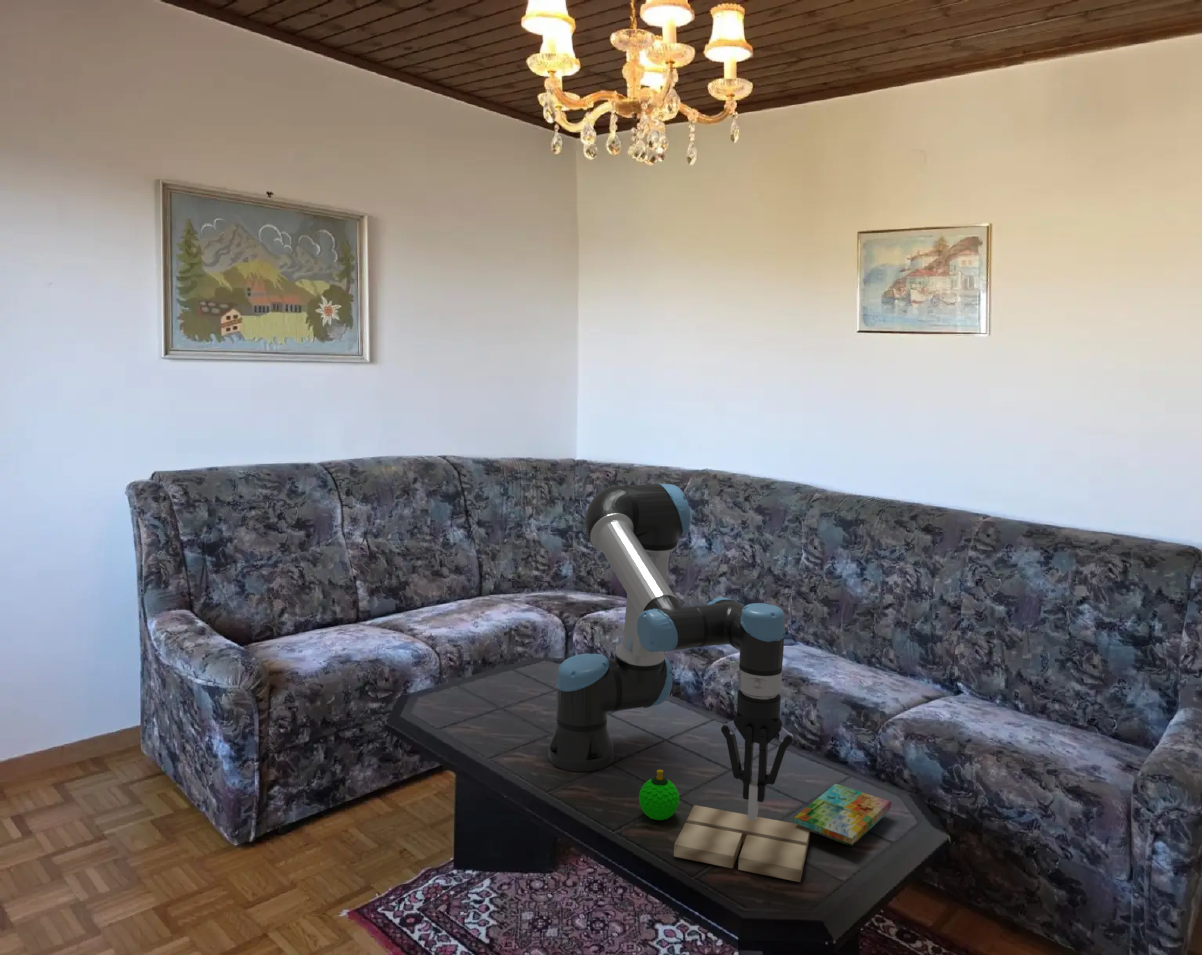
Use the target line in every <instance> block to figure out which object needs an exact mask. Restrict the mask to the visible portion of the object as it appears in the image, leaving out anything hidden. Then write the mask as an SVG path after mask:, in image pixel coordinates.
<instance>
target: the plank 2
mask: <svg viewBox="0 0 1202 955" xmlns="http://www.w3.org/2000/svg"><path fill="white" fill-rule="evenodd" d="M741 847H742V848H741V849H740V853H739V856H738V863H737V864H738V868H737V869H738V870H740V871H742V872H743V871H744V872H748V873H753V874H759V875H763V876H767V877H768V876H769V877H773V878H778V879H782V880H786V881H787V880H788V881H791V882H792V881H793V882H798V883H801V880H802V875H803V872H804V871H803V870H804V865H805V861H806V858H807V853H806V846H804V845H799V844H794V843H789V842H783V841H778V840H773V839H768V838H763V837H758V836H752V835H747V836H746V839H745V842H744V845H743V844H742V846H741Z"/></svg>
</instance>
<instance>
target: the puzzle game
mask: <svg viewBox="0 0 1202 955" xmlns="http://www.w3.org/2000/svg"><path fill="white" fill-rule="evenodd" d="M891 808H892V801H890V800H887V799H884V798H881V797H878V796H875V795H872V794H869V793H866V792H863V791H859V790H856V789H854V788H851V787H848V786H845V785H841V784H839V783H835V784H833V785H832V786H831V787H830V788H828V789H827V790H826V791H825V792H823V793H822V794H820V795H819V796H818V798H816V799H815V800H814V801H813V802H811V803H810V804H809V805H807V806H806V807H804V809H803V810H801V811H800V812H799V813H798V814H796V815H795V816H794V817H793V822H792V823H794V824H798V825H801V826H803V827H806V828H809V829H810V833H811V832H812V833H813V834H817V835H820V836H822V837H825V838H828V839H830V840H833V841H836V842H838V843H840V844H843V845H845V846H846V845H847V846H849V847H853V846H854V845H856V843H857V842H858V841H860V840H861V839H862V838H863V837H864V836H865V835H866V834H867V833H868V832H869V831H870V830H871V829H872V828H873V827H875V825H876V824H878V822H880V821H881V820H882V818H883V817H885V816H886V815H887V814H888V813H889V811H890V810H891Z"/></svg>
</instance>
